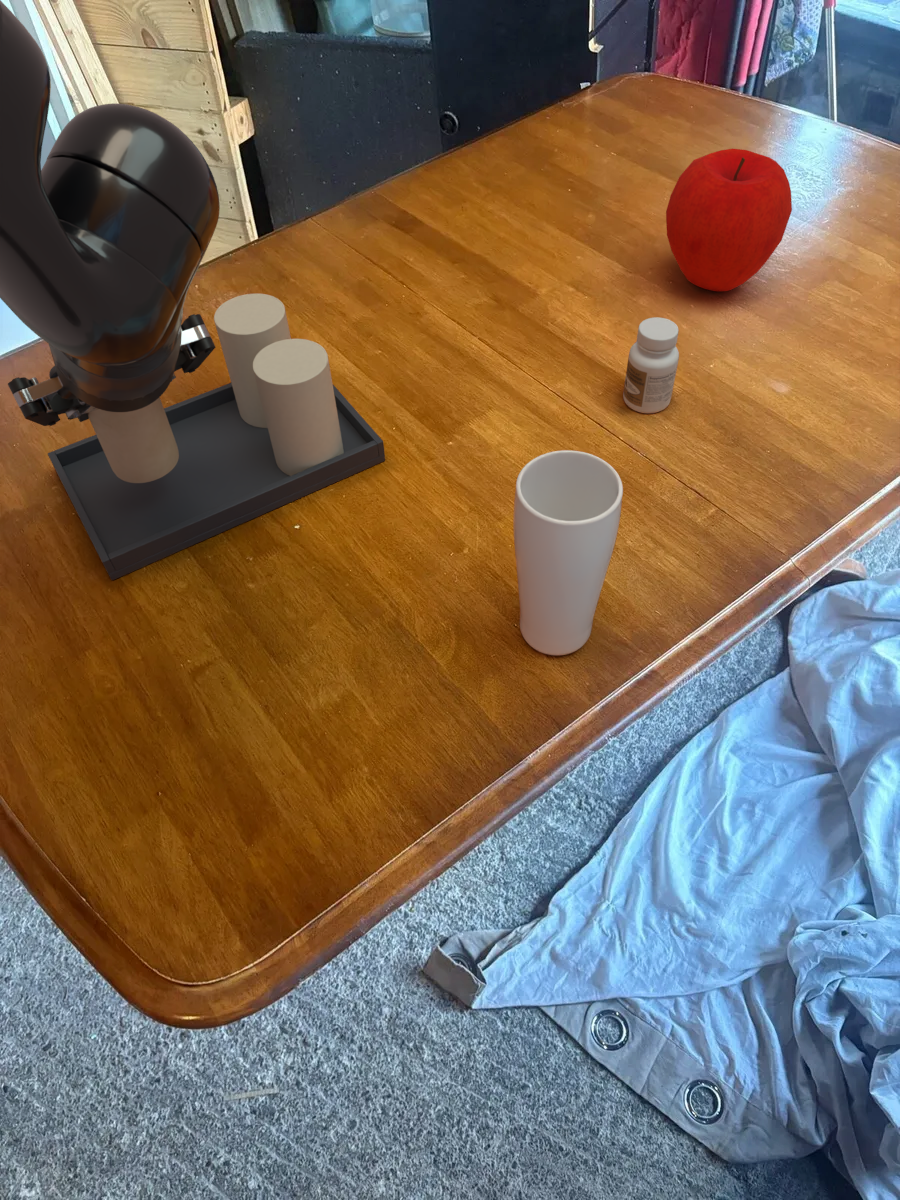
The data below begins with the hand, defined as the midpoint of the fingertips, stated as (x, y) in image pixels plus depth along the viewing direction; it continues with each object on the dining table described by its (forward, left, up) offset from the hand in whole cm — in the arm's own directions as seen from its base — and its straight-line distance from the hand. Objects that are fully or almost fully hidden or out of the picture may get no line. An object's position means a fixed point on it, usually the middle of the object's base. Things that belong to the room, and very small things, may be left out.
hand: (116, 393), depth 70 cm
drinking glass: (+20, -32, -10) cm, 39 cm away
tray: (+6, -1, -10) cm, 12 cm away
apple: (+61, -4, -11) cm, 62 cm away
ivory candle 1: (+13, +3, -10) cm, 16 cm away
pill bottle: (+43, -15, -11) cm, 47 cm away
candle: (0, -2, -6) cm, 6 cm away
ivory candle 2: (+13, -5, -10) cm, 17 cm away
